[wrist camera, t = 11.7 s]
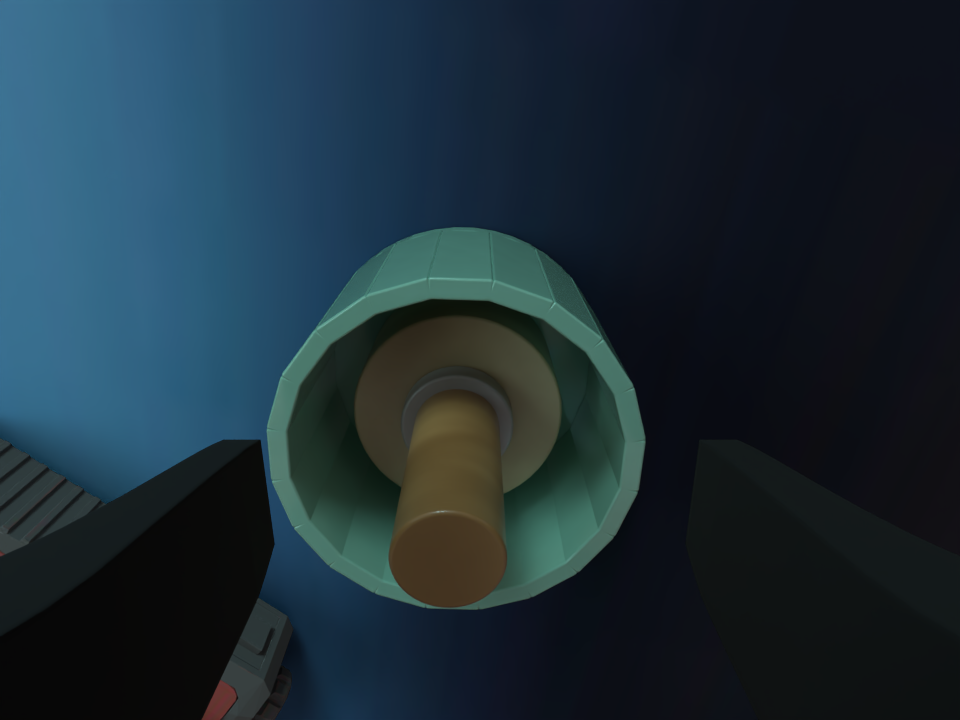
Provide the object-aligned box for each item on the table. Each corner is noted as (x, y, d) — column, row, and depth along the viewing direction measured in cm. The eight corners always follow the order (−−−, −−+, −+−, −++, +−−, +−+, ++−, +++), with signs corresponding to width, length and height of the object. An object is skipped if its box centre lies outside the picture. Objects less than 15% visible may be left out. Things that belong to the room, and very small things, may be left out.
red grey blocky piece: (-207, 575, 20) (335, 861, 25) (-386, 698, 16) (306, 1014, 21) (-84, 368, 17) (491, 730, 22) (-258, 451, 13) (494, 873, 18)
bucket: (645, 284, 17) (709, 356, 12) (538, 513, 19) (557, 647, 14) (369, 183, 16) (323, 219, 11) (294, 437, 18) (231, 553, 14)
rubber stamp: (564, 295, 16) (627, 443, 9) (536, 459, 18) (573, 689, 11) (375, 274, 16) (296, 409, 9) (365, 441, 18) (291, 665, 11)
